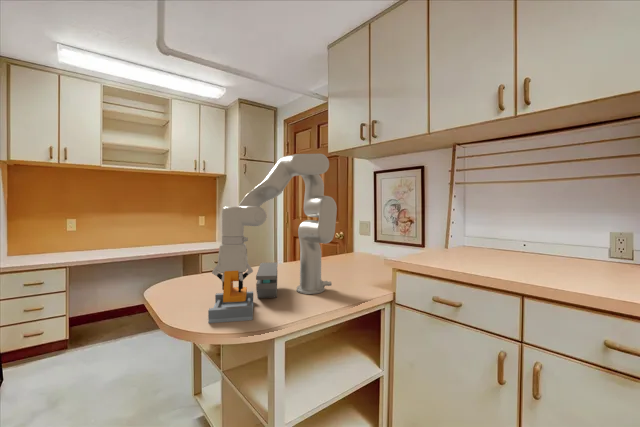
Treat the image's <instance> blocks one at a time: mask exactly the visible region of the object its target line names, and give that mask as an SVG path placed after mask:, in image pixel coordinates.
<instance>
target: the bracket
mask: <svg viewBox="0 0 640 427" xmlns="http://www.w3.org/2000/svg"><path fill="white" fill-rule="evenodd" d="M239 278H240V277H239V273H238V271H225V272H224V290H222V291H223V292H222V293H223V302H242V301H246V295H247V292H248V288H247V286H243V289H241V292H239V286H238V287H237V286H236V287H234V282H239Z"/></svg>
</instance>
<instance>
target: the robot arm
mask: <svg viewBox="0 0 640 427" xmlns="http://www.w3.org/2000/svg"><path fill="white" fill-rule="evenodd" d="M329 167H330V160H329V158H328V157H327V156H326V155H325V154H323V153H294V154H291V155H290V154H289V155H284V156H282V157H281V158H280V159H279V160H277V161H276V163H275V164H274V166H273V167H272V169H271V170H270V171H269V172H268V174H267V175H266V177H265V178H264V179H263V180H262V181H261V182H260V183H259V184H258V185H256V186H255V187H254V188H253V189H252V190H250V191H249V192H248V193H247V194H246V195H245V196H244V197H243V198H242V200H241V201H240V202H239V204H238V205H237V206H232V205H231V206H230V205H229V206H224V207H222V209H221V244H219V248H218V255H217V264H216V266H215V267H214V268H213V270H212V272H211V274H212V275H214V276H216V277H217V278H218V279H219V280H220V281H221V282H222V284H221V285H222V288H221V289H222V291H223V290H224V272H225V271H238V273H239V281H238V287H239V292H241V289H243V287H244V280H245V279H246V277H248V276H249V275H251V274H252V273H253V272H254V270H253V268H252V266H251V265H250V264H249V262H248V247H247V244H246V242H248V241H249V240H248V239H249V237H246V236H245V234H244V231H245V230H244V229H245V226H248V227H249V226H250V227H259V226H261V225H263V224H264V223H265V222H266V220H267V218H268V217H267V212H266V210H265V209H264V208H262V205H263V204H265V203H266V202H269V201H271V200H273V199H275V198H276V197H278V196H280V195H281V194H282V193H283V192H284V190H285V188H286V187H287V185H289V183H290V181H291V180H292V178H294V177H298V176H301V178H302V180H303V182H304V186H305V187H304V188H305V189H304V190H305V191H304V198H303V199H304V200H303V213H304V215H305V216H307V217H309V218H317V219H318V220H315V219H306V220H303V221H302V222H301V223H300V224H299V226H298V230H297V234H298V241H299V252H300V255H299V256H300V257H299V262H300V263H299V275H300V276H299V285H297V286H296V291H297V292H298V293H300V294H304V295H316V294H321V293H323V292H324V291H325V287H330V286H331V287H332V281H328V280H323V279H322V247H321V244H329V243H330V242H332V241H333V239H334V238H335V233H336V224H337V211H338V208H337V207H338V206H337V203H336V201H335V199H334V198H333V197H332V196H329V195H325V194H324V193H325V183H324V180H323V178H322V177H321V175H323V174H325V173H326V172H328V170H329Z"/></svg>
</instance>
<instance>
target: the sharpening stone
mask: <svg viewBox="0 0 640 427" xmlns="http://www.w3.org/2000/svg"><path fill="white" fill-rule="evenodd" d="M255 281H256V284H255V286H256V287H255V288H256V289H255V290H256V296H257V299H266V298H267V299H268V298H270V299H271V298H277V296H278V262H260V264H259V266H258V269H257V272H256V276H255Z"/></svg>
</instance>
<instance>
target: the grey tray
mask: <svg viewBox="0 0 640 427" xmlns="http://www.w3.org/2000/svg"><path fill="white" fill-rule="evenodd" d="M214 297H215V298H214V301H215V303H214V306H213V307H209V309H207V310H208V316H207V317H208V319H207V320H208V324H215V323H229V322H230V323H231V322H244V321H253V318H254V317H253V316H254V291H252V290H251V291H247V295H246V301H242V302H223V292H219V293H218V292H217V293H215V295H214Z"/></svg>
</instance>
